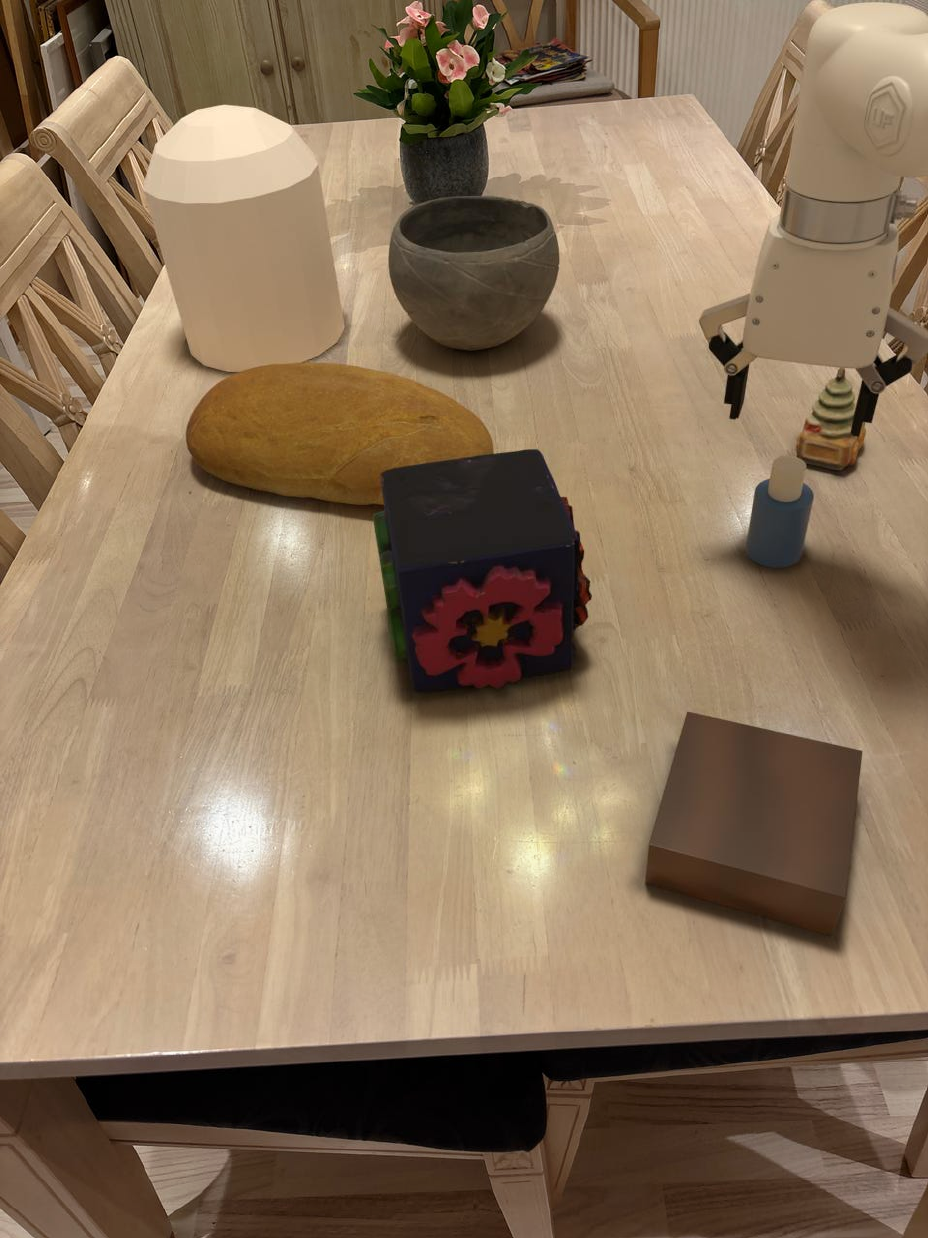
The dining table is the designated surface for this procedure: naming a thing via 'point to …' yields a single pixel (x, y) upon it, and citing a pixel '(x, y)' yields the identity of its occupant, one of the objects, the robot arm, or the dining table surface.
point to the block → (757, 822)
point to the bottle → (780, 515)
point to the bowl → (473, 268)
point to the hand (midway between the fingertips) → (795, 419)
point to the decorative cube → (480, 570)
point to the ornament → (831, 427)
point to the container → (244, 239)
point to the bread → (326, 430)
